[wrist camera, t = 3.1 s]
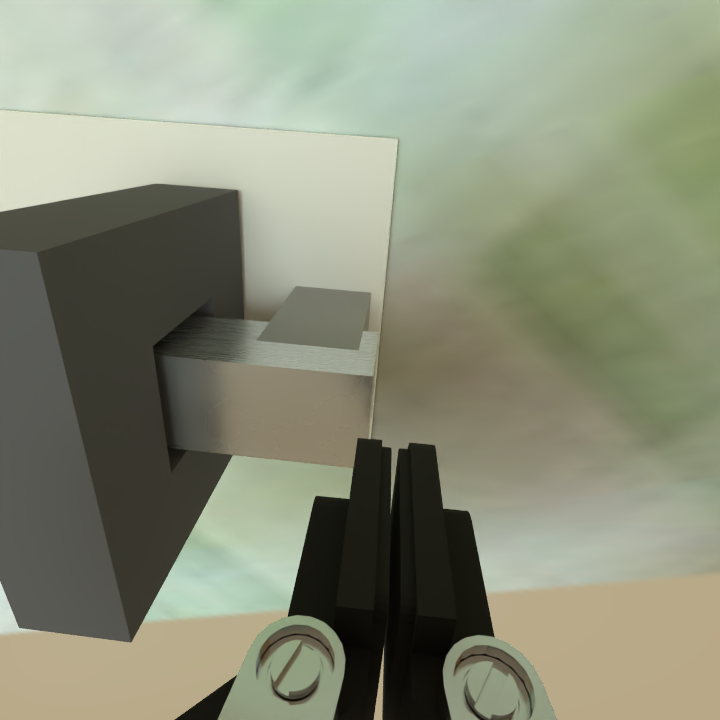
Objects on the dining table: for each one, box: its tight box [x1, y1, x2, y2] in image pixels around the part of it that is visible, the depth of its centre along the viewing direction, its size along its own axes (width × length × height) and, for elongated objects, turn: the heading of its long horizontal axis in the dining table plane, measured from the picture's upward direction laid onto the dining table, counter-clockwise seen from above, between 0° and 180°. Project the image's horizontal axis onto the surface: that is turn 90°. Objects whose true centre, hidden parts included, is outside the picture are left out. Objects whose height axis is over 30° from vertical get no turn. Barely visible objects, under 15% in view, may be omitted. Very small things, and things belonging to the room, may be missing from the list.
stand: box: [0, 110, 398, 439], centre depth 17 cm, size 24×14×6 cm, turn 86°
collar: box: [0, 183, 244, 642], centre depth 14 cm, size 3×10×10 cm, turn 176°
